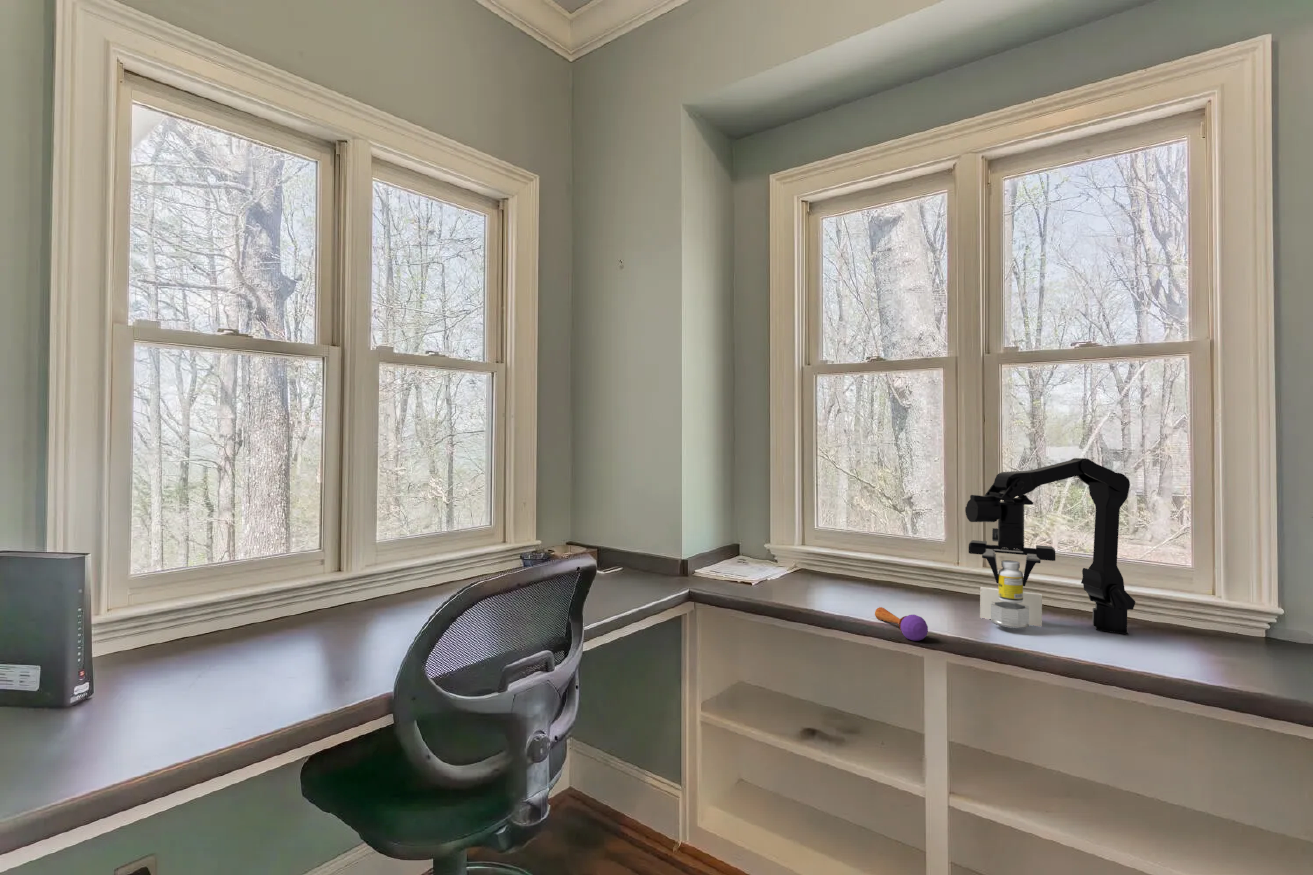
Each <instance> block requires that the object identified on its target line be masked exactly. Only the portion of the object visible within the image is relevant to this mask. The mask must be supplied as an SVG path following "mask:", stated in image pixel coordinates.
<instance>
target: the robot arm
mask: <svg viewBox="0 0 1313 875" xmlns="http://www.w3.org/2000/svg"><path fill="white" fill-rule="evenodd" d="M1075 477H1077V478H1078V479H1079V480H1080V482H1083V483H1085V484H1086V485H1087V486H1088V491H1089V496H1090V498H1091V500H1092V501H1093V504H1094V505H1095V513H1094V514H1095V517H1094V534H1093V536H1094V537H1093V555H1092V563H1091V564H1090V565H1089V567H1088V568H1085V567H1083V568H1082V571H1081V572H1082V578H1081V582H1080V584H1082V586H1083V590H1084V591H1085V592H1086V593H1087V595H1088V598H1089V601H1090V602H1094V603H1095V606H1094V607H1093V608H1092V626H1094V628H1095V629H1096V631H1100V632H1106V633H1114V634H1122V635H1129V634H1130V633H1129V630H1128V611H1129V610H1130V611H1131V610H1134V608H1135V605H1136V600H1135V599H1134V598H1133V597H1132V596H1131V595H1130V594H1129V593H1128V592H1127V591H1126V590H1125V581H1124V577H1123V575H1122V573H1121V571H1120V569H1119V567H1118V551H1119V549H1118V548H1119V530H1120V526H1119V525H1120V510H1121V507H1122V506H1123V505H1124V503H1125V502H1126V500H1127V499H1128V496H1129V490H1130V486H1131V483H1130V479H1129V478H1127V476H1126V474H1125V475H1124V474H1123V473H1121V472H1115V471H1113V470H1112V469H1110V468H1107V467H1104V466H1103V465H1100V464H1098V463H1096V462H1094V461H1093V460H1091V459H1090V458H1082V457H1075V458H1072V459H1069V460H1066V461H1062V462H1058V463H1053V464H1050V465H1046V466H1042V467H1038V468H1035V469H1030V470H1016V471H1015V470H1014V471H1002V472H999V473H997V474H996V476H995V478H994V481H993V483H992V485H991V486H990V488H988V490H987V492H986V493H985V494H984V495H978V494H970V496H969V500H968V501H967V502H966V506H965V509H964V512H965V516H966V518H967V520H968V521H969V522H970V523H995V522H997V528H996V527H994V528H992V529H991V530H992V536H991V539H992V542H997V544H988V543H987V542H988V541H987V540H973V539H972V540H971V541H970V542H969V543H968V554H972V555H981V558H982V559H986V560H987V563H988V564H989V567H990V568H991V570H992V574H993V578H994V579H995V582H996V584H998V579H999V578H998V573H999V570H998V563H997V553H1000V554H1010V555H1021V556H1026V557H1025V563H1024V564H1025V565H1024V570H1023V587H1025V586H1026V584H1027V582H1028V580H1029V576H1030V574H1031V572H1032V570H1033V568H1034V567H1035V565H1036V564H1041V561H1050V562H1055V561H1056V549H1055V547H1053V546H1051V545H1050V546H1049V545H1039V544H1037V545H1035V548H1034V547H1025V506H1029V505H1031V506H1033V505H1034V502H1033V501H1032V500H1031V499H1030V498H1028V496H1027V495H1026V494H1028V493H1031V492H1033V491H1034V490H1036V489H1037V488H1038V487H1041V486H1042V485H1043V486H1044V485H1047V484H1050V483H1055V482H1059V481H1063V480H1067V479H1070V478H1075Z"/></svg>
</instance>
